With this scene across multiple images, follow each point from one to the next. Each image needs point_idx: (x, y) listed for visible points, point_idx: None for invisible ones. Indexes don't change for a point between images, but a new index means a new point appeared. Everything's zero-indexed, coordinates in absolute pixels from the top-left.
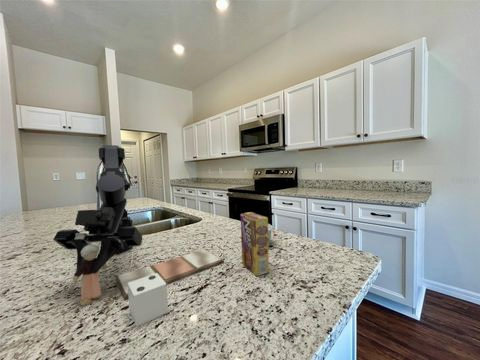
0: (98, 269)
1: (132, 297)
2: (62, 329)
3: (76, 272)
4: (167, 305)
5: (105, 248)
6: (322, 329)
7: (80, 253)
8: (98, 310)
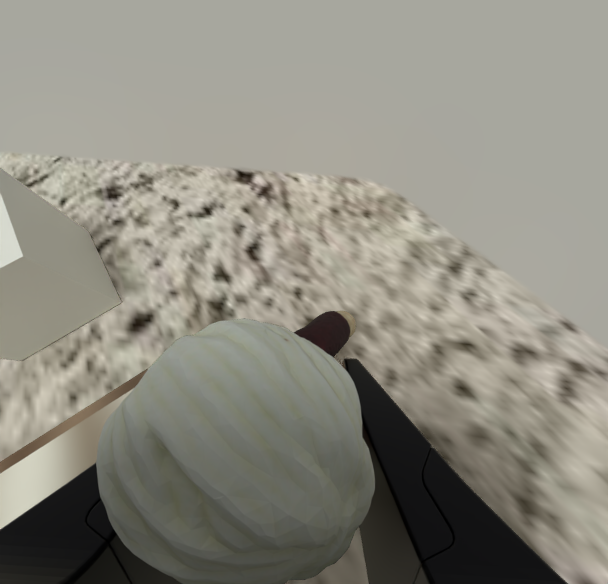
0: None
1: (21, 200)
2: (299, 243)
3: (329, 315)
4: None
5: (18, 528)
6: None
7: (425, 491)
8: (234, 318)
